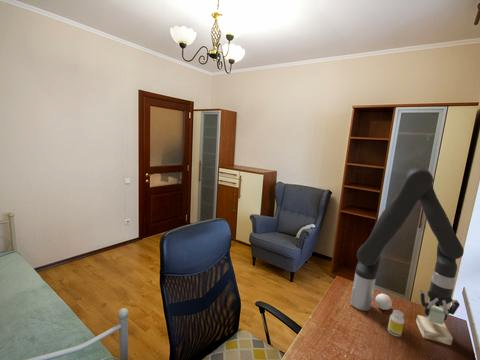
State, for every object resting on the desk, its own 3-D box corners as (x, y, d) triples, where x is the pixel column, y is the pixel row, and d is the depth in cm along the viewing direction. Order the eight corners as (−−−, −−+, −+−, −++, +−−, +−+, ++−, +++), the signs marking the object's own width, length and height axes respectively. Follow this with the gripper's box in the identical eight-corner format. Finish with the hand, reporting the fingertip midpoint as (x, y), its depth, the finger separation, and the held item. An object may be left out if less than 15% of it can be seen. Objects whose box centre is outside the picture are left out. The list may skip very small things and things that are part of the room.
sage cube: (428, 320, 108) (430, 310, 107) (426, 313, 113) (428, 303, 112) (442, 325, 106) (445, 314, 105) (439, 317, 110) (442, 307, 110)
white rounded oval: (373, 301, 129) (375, 288, 128) (389, 306, 126) (392, 293, 125) (374, 313, 121) (376, 300, 119) (392, 318, 117) (394, 305, 116)
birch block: (423, 338, 107) (424, 330, 107) (415, 322, 117) (417, 314, 116) (450, 345, 104) (452, 337, 103) (441, 328, 113) (443, 321, 112)
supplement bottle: (403, 338, 106) (407, 318, 104) (390, 335, 107) (393, 316, 105) (398, 328, 112) (402, 309, 110) (385, 326, 113) (389, 307, 111)
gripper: (423, 282, 106) (416, 316, 109) (467, 293, 100) (458, 329, 103) (420, 273, 112) (413, 306, 116) (460, 283, 106) (452, 318, 109)
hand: (434, 317), depth 109 cm, fingers closed on sage cube, 5 cm apart
